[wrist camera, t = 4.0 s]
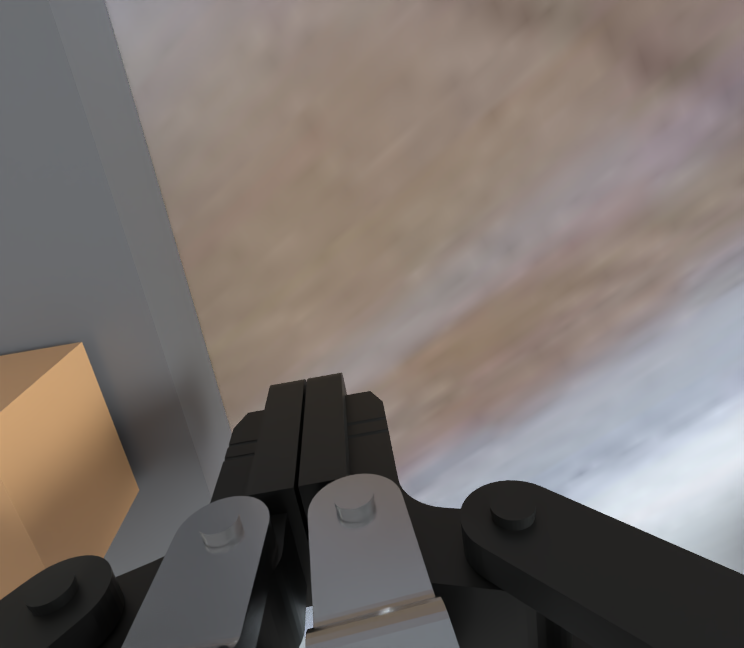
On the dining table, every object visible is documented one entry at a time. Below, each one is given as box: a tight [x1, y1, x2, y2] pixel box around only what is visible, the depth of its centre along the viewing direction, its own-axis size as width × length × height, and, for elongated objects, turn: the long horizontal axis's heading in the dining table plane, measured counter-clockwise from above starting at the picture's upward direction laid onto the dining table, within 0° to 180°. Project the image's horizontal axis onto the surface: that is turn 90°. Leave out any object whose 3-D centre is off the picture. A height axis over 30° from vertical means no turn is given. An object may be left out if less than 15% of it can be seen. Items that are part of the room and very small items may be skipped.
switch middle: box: [0, 342, 139, 600], centre depth 10 cm, size 4×3×4 cm
